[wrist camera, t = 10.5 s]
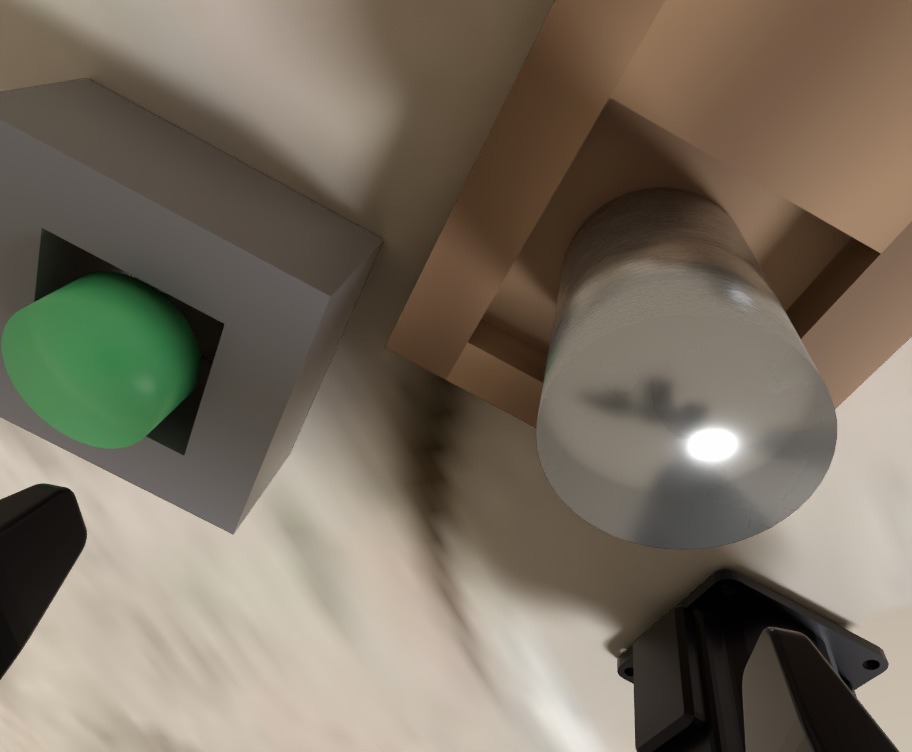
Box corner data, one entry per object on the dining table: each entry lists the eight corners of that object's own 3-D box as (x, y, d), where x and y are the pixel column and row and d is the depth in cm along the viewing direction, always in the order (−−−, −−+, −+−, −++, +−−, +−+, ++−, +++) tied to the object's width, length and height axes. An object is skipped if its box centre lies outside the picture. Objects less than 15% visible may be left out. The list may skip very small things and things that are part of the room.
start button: (216, 320, 16) (170, 357, 15) (184, 429, 18) (140, 473, 17) (70, 243, 16) (6, 272, 14) (54, 362, 18) (-3, 400, 16)
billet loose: (790, 245, 15) (910, 409, 9) (674, 384, 17) (709, 586, 11) (625, 151, 15) (637, 258, 9) (530, 305, 17) (489, 472, 11)
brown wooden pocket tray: (1628, -492, 9) (1942, -641, 7) (703, 466, 20) (714, 523, 17) (1024, -929, 8) (1166, -1245, 6) (410, 307, 19) (384, 347, 17)
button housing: (383, 239, 18) (330, 296, 15) (289, 454, 23) (233, 534, 20) (87, 78, 17) (-39, 98, 14) (54, 333, 22) (-45, 394, 19)
